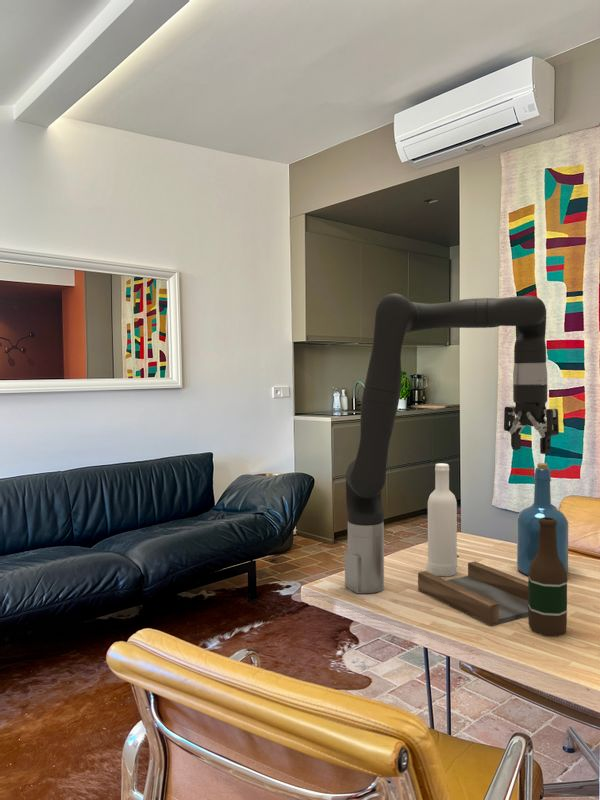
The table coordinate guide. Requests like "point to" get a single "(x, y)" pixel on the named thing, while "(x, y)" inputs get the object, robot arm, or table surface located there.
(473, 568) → the cradle
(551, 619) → the beer bottle
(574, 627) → the table surface
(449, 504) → the bottle
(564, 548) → the wine bottle
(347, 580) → the robot arm
